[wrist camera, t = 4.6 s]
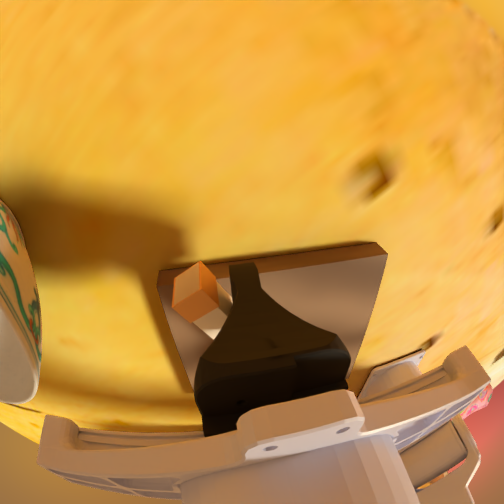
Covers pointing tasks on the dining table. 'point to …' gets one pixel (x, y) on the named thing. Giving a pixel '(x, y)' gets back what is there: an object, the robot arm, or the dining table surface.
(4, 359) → the chinaware
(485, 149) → the dining table surface
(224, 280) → the flat rectangular base
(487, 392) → the pencil case
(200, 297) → the white joystick lever
